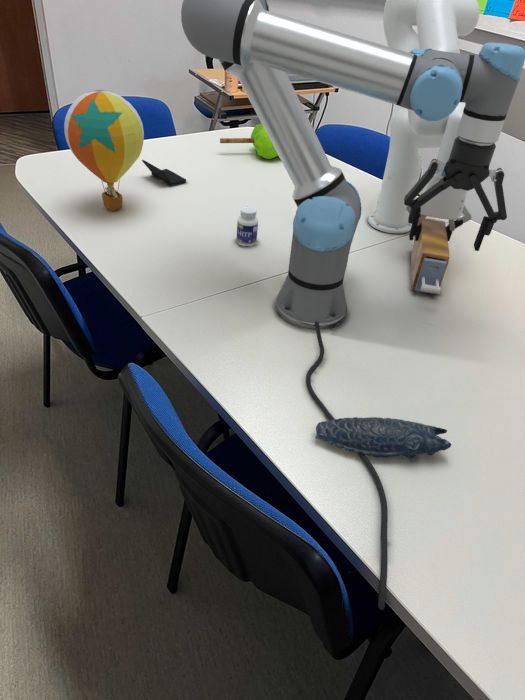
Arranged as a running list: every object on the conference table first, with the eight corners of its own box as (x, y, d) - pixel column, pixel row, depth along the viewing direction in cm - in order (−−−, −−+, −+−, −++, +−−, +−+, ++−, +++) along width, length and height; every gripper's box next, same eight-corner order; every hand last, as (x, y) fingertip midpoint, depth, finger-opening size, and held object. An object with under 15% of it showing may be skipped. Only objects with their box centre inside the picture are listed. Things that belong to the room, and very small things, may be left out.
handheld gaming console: (190, 175, 164) (173, 153, 156) (179, 193, 163) (161, 172, 155) (166, 170, 170) (147, 148, 162) (155, 188, 169) (136, 167, 161)
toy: (64, 203, 145) (44, 85, 127) (127, 189, 156) (117, 79, 137) (97, 229, 134) (80, 105, 116) (162, 213, 145) (156, 96, 126)
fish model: (449, 471, 80) (458, 449, 77) (314, 454, 81) (318, 432, 78) (442, 439, 86) (450, 418, 83) (315, 423, 87) (319, 401, 84)
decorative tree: (217, 118, 187) (297, 118, 193) (217, 148, 194) (295, 147, 199) (223, 133, 174) (309, 132, 179) (223, 164, 180) (306, 163, 185)
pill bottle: (233, 243, 134) (234, 211, 128) (240, 235, 138) (242, 203, 132) (252, 248, 133) (254, 215, 127) (259, 239, 137) (261, 208, 131)
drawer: (437, 306, 116) (448, 275, 111) (415, 302, 117) (425, 271, 112) (433, 257, 134) (442, 229, 129) (414, 254, 135) (422, 226, 130)
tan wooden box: (437, 294, 122) (450, 256, 116) (411, 289, 123) (422, 252, 117) (434, 256, 137) (445, 221, 131) (411, 252, 138) (420, 217, 132)
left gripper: (541, 143, 98) (501, 244, 112) (408, 125, 101) (384, 226, 115) (550, 155, 92) (506, 260, 106) (409, 136, 95) (383, 240, 109)
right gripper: (488, 169, 120) (463, 240, 131) (413, 158, 122) (395, 228, 134) (492, 180, 114) (466, 253, 126) (413, 168, 116) (394, 241, 128)
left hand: (443, 242), depth 110 cm, fingers open, 13 cm apart
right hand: (430, 240), depth 129 cm, fingers closed on tan wooden box, 6 cm apart
